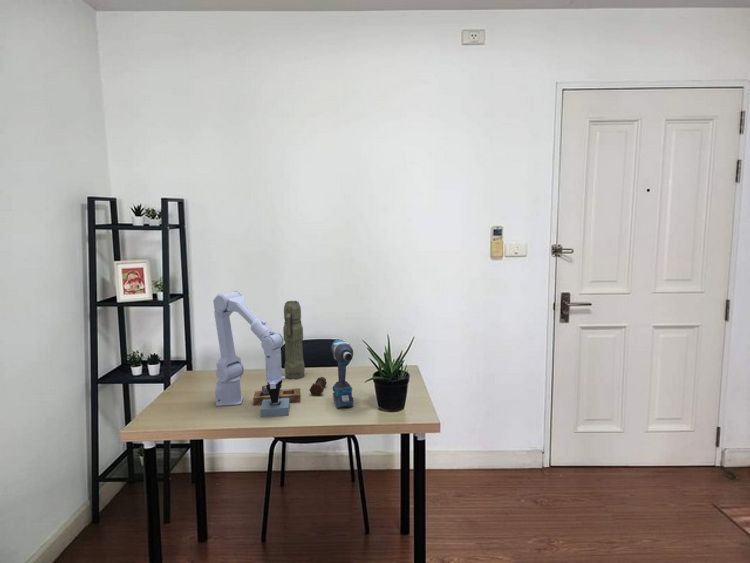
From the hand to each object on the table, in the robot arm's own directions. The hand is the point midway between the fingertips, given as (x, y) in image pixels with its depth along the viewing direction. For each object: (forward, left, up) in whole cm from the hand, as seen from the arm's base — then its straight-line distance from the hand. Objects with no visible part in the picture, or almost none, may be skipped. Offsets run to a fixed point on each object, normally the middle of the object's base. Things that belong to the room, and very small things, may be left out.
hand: (275, 401), depth 184 cm
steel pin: (0, 0, -4) cm, 4 cm away
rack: (0, +12, -4) cm, 12 cm away
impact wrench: (+26, +1, -4) cm, 26 cm away
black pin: (-5, +12, -4) cm, 13 cm away
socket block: (0, 0, -4) cm, 4 cm away
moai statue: (+6, +41, -4) cm, 42 cm away
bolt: (+17, +21, -4) cm, 27 cm away
